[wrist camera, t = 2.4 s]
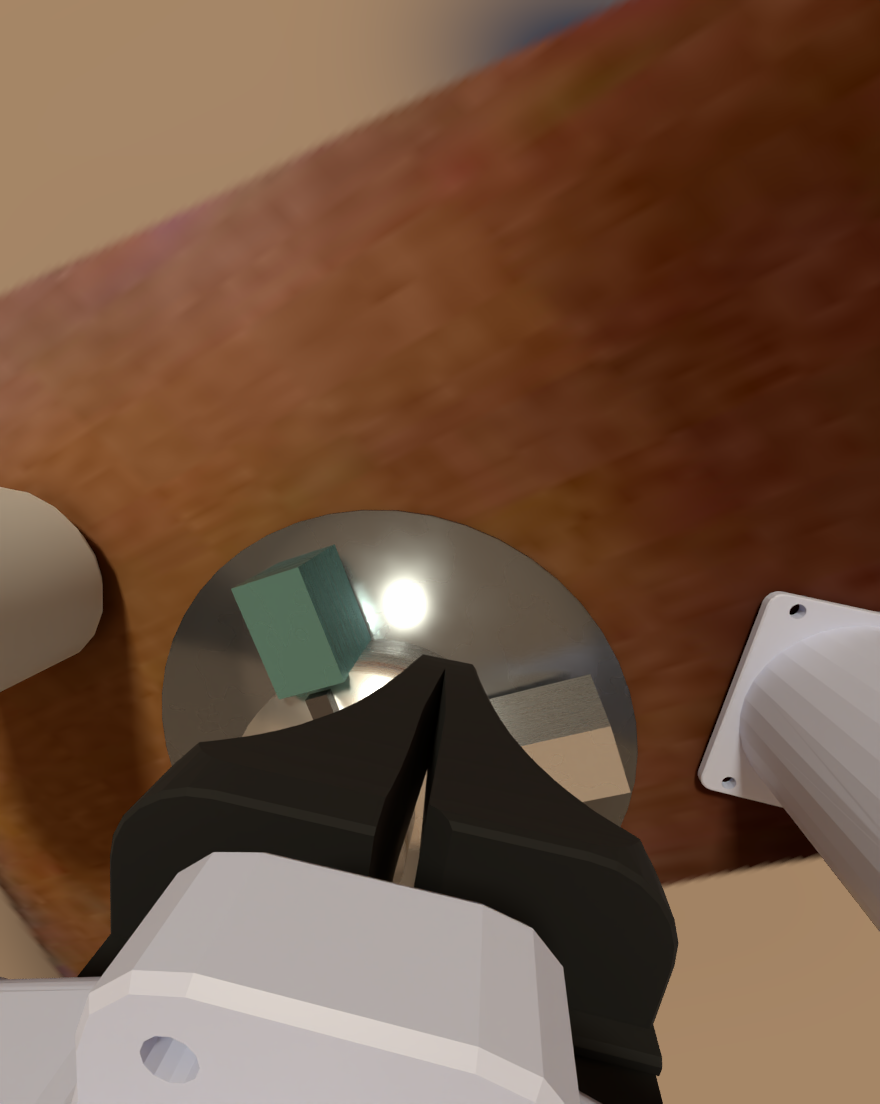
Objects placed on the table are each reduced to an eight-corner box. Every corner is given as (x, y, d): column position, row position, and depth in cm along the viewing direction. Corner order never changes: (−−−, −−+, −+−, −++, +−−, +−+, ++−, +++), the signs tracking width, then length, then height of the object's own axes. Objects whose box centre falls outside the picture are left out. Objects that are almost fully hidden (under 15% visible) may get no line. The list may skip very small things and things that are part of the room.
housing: (706, 573, 17) (802, 635, 12) (563, 987, 22) (584, 1166, 16) (178, 461, 18) (46, 469, 13) (154, 872, 23) (50, 1002, 18)
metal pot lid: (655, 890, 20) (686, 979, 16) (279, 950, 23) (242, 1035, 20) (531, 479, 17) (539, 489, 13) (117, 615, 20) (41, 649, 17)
